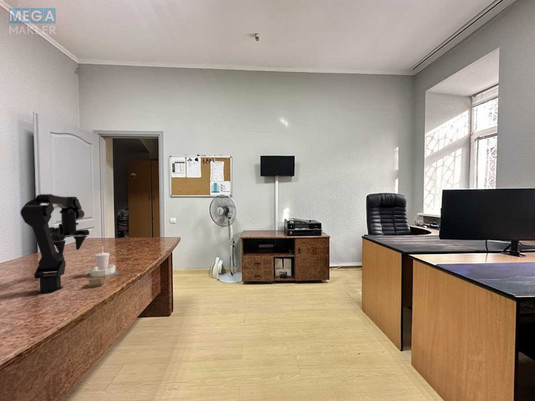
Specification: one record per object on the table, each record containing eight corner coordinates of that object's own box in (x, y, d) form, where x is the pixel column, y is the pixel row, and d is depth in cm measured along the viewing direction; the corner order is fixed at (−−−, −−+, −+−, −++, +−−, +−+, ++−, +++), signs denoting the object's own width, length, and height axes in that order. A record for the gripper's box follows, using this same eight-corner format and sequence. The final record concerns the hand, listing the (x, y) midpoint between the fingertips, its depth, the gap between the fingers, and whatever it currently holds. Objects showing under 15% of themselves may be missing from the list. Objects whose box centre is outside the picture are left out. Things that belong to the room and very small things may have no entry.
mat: (118, 274, 125) (118, 273, 125) (90, 279, 117) (90, 278, 117) (114, 269, 134) (114, 268, 134) (88, 273, 126) (88, 273, 126)
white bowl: (105, 276, 120) (105, 270, 120) (85, 276, 121) (85, 270, 121) (119, 270, 131) (119, 264, 131) (101, 270, 131) (101, 264, 131)
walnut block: (101, 287, 107) (101, 278, 107) (89, 288, 106) (88, 279, 106) (106, 283, 112) (106, 275, 112) (94, 284, 111) (94, 276, 111)
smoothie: (111, 269, 130) (111, 244, 129) (108, 273, 124) (107, 246, 123) (98, 271, 128) (97, 245, 127) (93, 274, 122) (92, 247, 121)
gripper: (70, 219, 130) (71, 247, 130) (34, 223, 111) (35, 256, 112) (89, 219, 129) (90, 247, 129) (56, 223, 110) (57, 256, 111)
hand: (69, 251), depth 120 cm, fingers open, 9 cm apart
